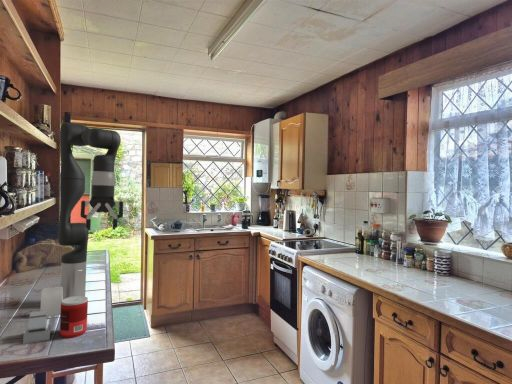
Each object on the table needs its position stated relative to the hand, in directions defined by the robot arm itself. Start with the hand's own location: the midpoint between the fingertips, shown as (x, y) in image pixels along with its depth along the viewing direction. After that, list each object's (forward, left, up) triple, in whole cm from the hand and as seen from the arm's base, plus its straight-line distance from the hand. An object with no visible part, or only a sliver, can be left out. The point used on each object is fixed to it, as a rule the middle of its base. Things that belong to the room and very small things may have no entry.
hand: (101, 229), depth 122 cm
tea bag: (-14, -15, -33) cm, 39 cm away
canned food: (+8, -8, -33) cm, 35 cm away
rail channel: (+6, -18, -33) cm, 38 cm away
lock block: (+6, -18, -33) cm, 38 cm away
